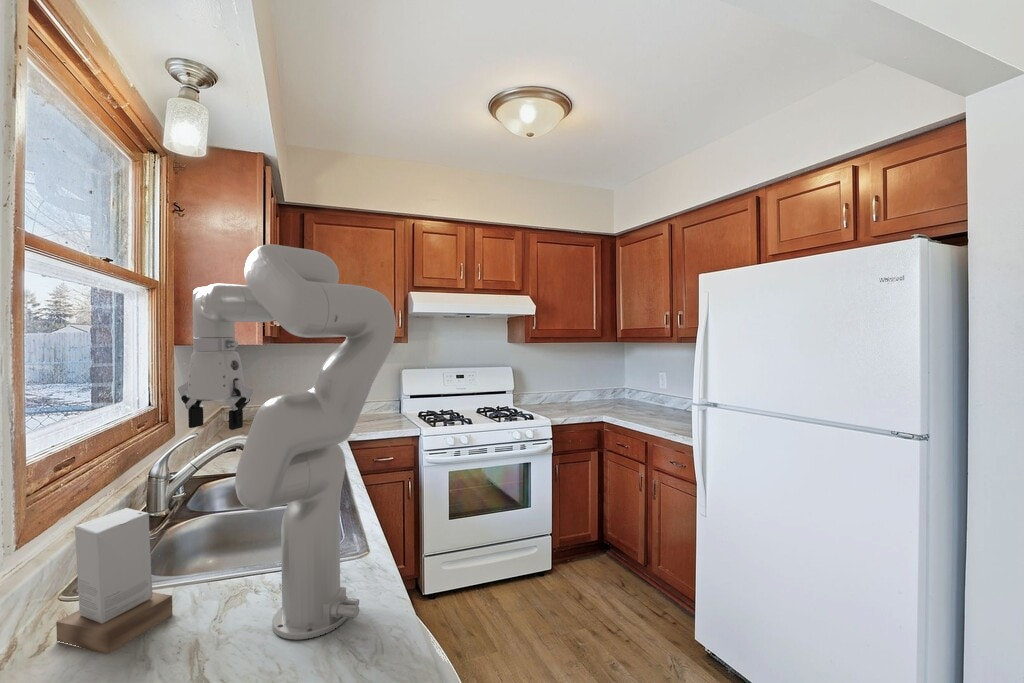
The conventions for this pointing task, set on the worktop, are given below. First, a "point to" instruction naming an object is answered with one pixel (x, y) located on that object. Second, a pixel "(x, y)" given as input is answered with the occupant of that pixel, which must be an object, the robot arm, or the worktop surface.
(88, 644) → the walnut block
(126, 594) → the skincare box
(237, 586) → the worktop surface
